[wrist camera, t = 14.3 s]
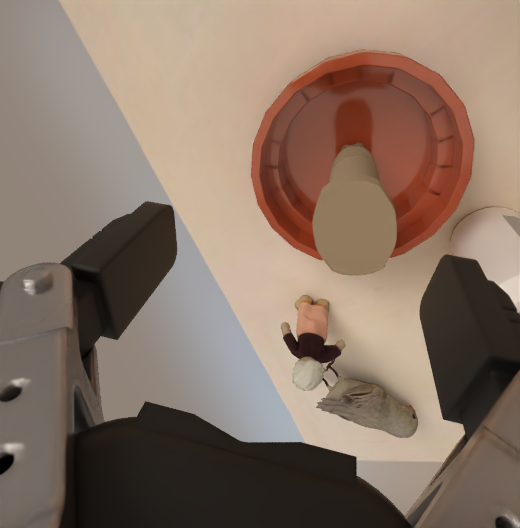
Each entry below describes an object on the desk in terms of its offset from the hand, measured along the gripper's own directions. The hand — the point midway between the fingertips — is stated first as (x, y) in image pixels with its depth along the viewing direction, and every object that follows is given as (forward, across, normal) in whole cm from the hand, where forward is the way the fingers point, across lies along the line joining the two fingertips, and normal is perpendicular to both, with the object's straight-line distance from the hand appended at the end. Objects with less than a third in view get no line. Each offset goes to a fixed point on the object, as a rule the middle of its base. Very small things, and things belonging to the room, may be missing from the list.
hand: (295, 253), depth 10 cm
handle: (+25, -3, +5) cm, 26 cm away
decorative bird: (+25, -13, +38) cm, 47 cm away
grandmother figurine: (+26, -3, +25) cm, 36 cm away
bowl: (+26, -3, +5) cm, 26 cm away
